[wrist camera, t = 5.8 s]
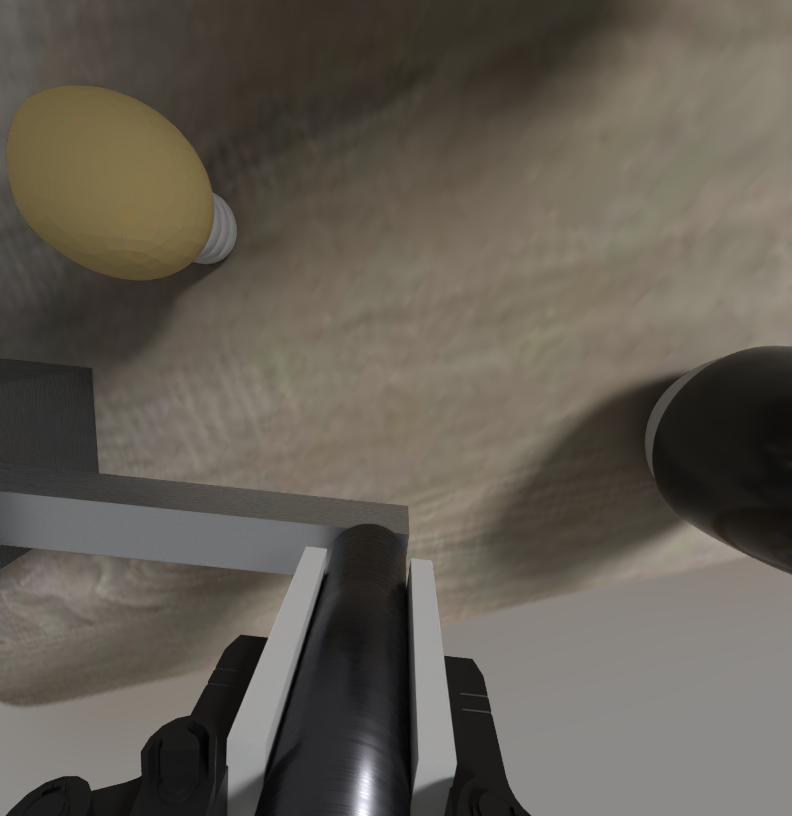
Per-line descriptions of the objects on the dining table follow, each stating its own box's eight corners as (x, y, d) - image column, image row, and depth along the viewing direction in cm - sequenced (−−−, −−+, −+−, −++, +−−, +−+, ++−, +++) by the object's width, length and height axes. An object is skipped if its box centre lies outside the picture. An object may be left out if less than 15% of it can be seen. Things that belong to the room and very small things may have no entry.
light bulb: (144, 273, 22) (-52, 242, 13) (157, 151, 21) (-54, 10, 11) (255, 302, 23) (146, 294, 13) (275, 184, 21) (170, 75, 12)
